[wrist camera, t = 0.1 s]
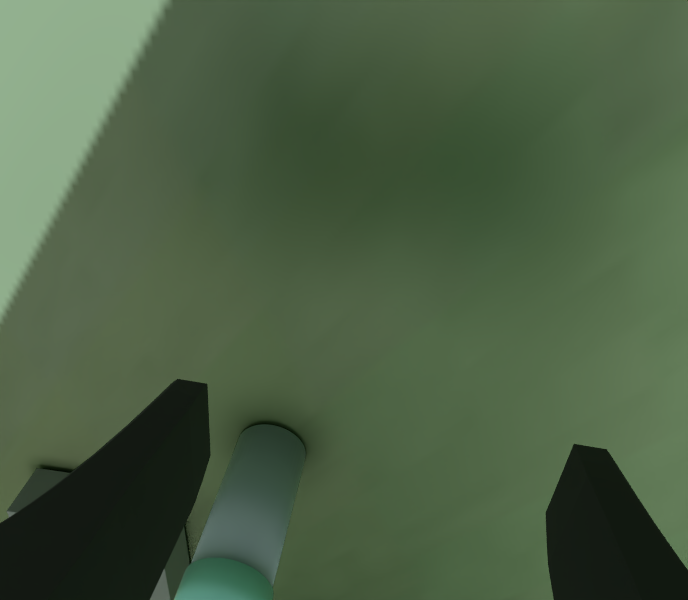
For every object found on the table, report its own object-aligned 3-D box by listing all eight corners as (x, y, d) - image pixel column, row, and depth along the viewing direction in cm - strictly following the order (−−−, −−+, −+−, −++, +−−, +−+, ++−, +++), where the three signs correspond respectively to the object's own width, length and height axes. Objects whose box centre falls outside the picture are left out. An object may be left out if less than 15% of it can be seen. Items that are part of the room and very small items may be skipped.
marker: (307, 480, 28) (263, 663, 22) (237, 469, 29) (172, 648, 22) (308, 428, 27) (260, 611, 20) (233, 417, 27) (161, 595, 20)
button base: (191, 577, 34) (174, 622, 32) (65, 557, 35) (41, 600, 32) (178, 489, 30) (158, 534, 28) (36, 468, 31) (6, 510, 29)
